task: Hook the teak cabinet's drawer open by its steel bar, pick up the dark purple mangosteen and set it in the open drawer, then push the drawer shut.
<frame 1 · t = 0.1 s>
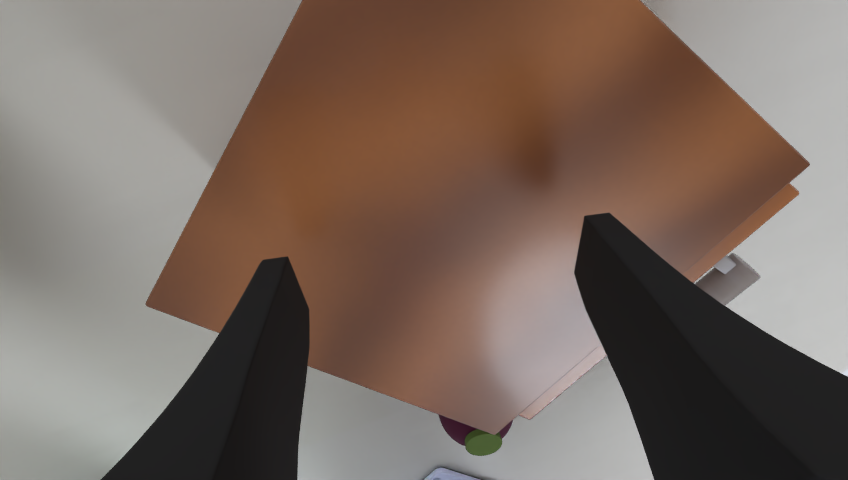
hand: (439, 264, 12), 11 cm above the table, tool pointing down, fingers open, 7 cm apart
drawer: (544, 228, 20), point 4 cm above the table, slide at 0.5 cm
cabinet: (436, 126, 21), on the table
mangosteen: (469, 376, 31), on the table
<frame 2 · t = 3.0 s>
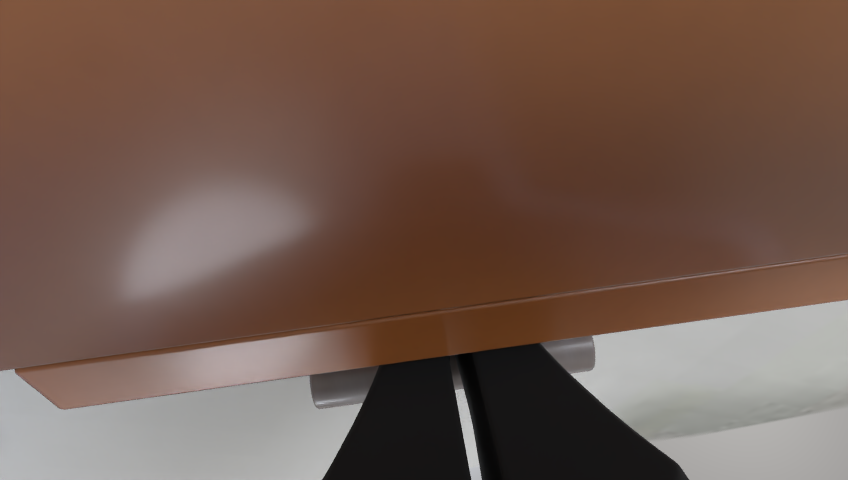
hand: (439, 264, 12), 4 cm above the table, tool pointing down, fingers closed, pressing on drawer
drawer: (419, 37, 8), point 4 cm above the table, slide at 1.2 cm, touching gripper
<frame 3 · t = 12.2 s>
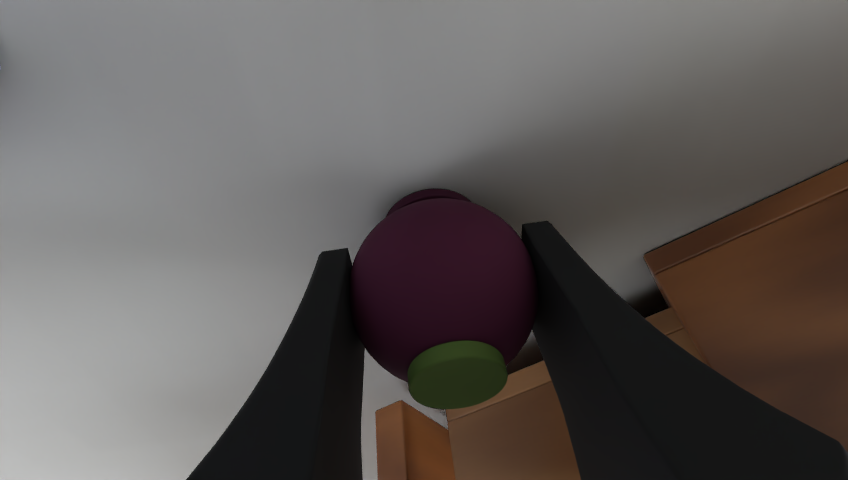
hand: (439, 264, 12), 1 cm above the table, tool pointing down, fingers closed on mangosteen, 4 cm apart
mangosteen: (431, 226, 13), on the table, touching gripper
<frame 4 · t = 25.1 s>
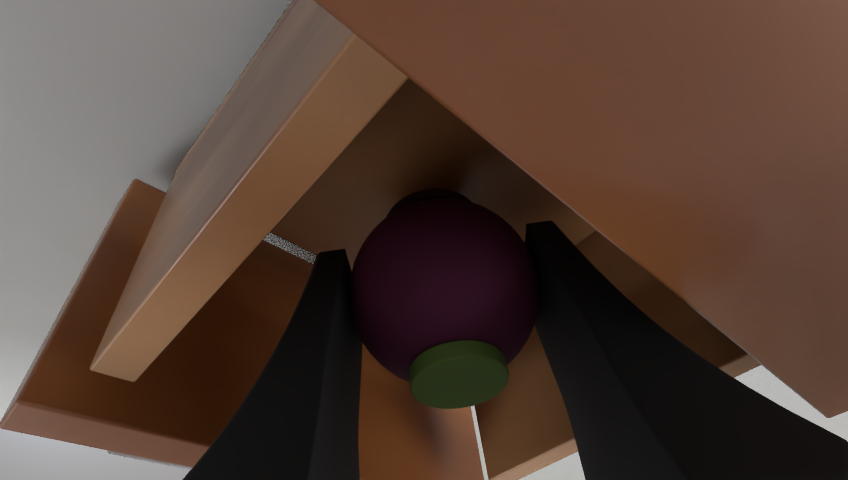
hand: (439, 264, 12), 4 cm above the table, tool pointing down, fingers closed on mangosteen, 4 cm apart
drawer: (379, 309, 13), point 4 cm above the table, slide at 9.4 cm
mangosteen: (431, 226, 13), point 3 cm above the table, touching gripper
when the fingers open (6 cm above the table, at t = 28.3 s): mangosteen drops 2 cm, resting on drawer.
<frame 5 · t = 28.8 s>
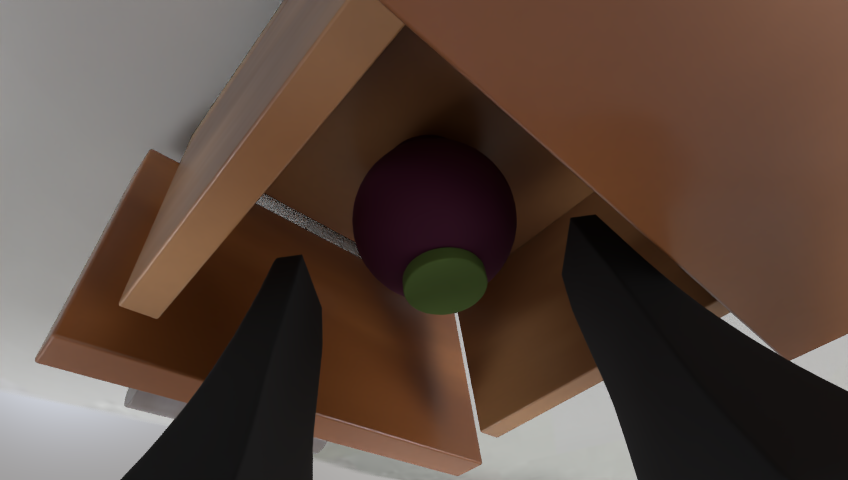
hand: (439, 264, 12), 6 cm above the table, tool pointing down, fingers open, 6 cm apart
drawer: (378, 269, 15), point 4 cm above the table, slide at 9.4 cm, touching mangosteen
mangosteen: (425, 171, 15), point 2 cm above the table, touching drawer
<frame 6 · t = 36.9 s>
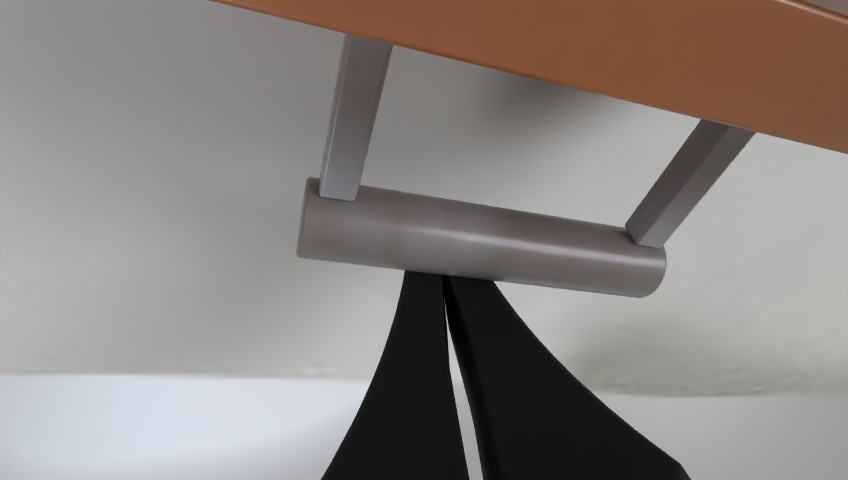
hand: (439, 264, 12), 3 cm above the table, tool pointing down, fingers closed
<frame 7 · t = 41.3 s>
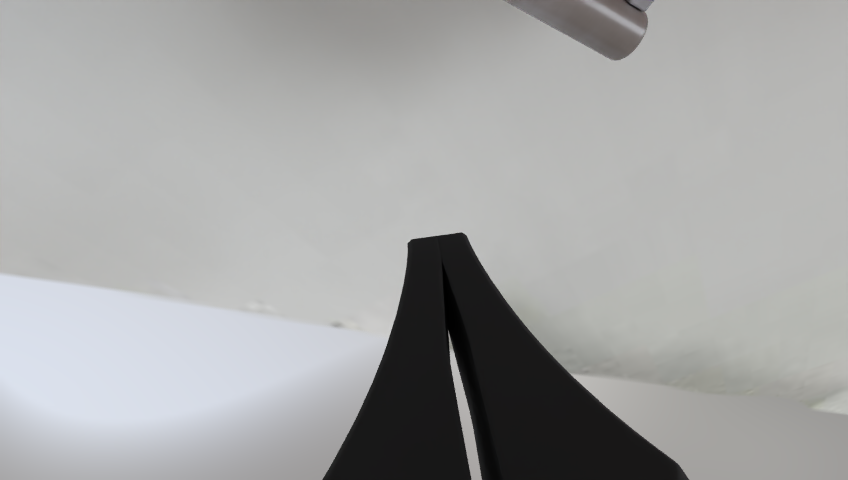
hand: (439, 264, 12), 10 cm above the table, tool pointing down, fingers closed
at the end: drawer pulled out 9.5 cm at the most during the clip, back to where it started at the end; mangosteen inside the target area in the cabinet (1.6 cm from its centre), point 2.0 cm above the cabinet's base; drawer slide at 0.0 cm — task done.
